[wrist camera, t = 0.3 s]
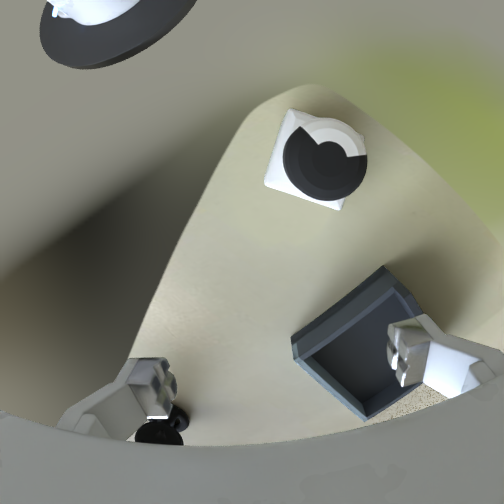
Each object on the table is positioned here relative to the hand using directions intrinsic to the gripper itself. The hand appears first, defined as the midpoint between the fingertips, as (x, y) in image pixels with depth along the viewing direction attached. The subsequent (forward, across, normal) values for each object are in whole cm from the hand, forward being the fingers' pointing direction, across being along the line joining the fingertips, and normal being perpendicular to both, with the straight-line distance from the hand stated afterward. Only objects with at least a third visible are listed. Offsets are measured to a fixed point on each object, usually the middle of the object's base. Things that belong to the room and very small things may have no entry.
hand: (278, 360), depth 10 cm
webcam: (+24, +22, +29) cm, 43 cm away
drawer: (+24, -11, +19) cm, 32 cm away
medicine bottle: (+24, -5, -6) cm, 25 cm away
